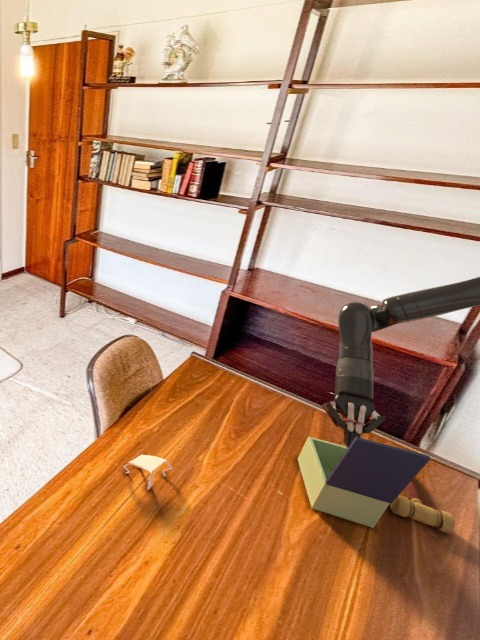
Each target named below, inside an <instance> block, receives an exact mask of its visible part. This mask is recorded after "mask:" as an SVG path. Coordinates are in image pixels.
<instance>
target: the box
mask: <svg viewBox="0 0 480 640" xmlns="http://www.w3.org/2000/svg"><path fill="white" fill-rule="evenodd" d="M347 449H348V448H347V447H346V445H341V444H338V443H335V442H331V441H327V440H323V439H319V438H316V437H312V436H307V438H306V440H305V442H304V444H303V446H302V449H301V451H300V453H299V455H298V457H297V463H298V466H299V469H300V473H301V476H302V479H303V480H302V481H303V483H304V486H305V490H306V495H307V497H308V500H309V503H310V508H311V509H312V510H315V511H319V512H322V513H325V514H328V515H332V516H335V517H338V518H340V519H344V520H347V521H351V522H353V523H356V524H360V525H363V526H365V527H369V528H372V529H373V528H375V526H376V525H377V523H378V522H379V520H380V519H381V518H382V516H383V514H384V513H385V511H386V510H387V509H388V507H389V506H390V505H391V504H390V503H387V502H383V501H380V500H377V499H373V498H370V497H367V496H363V495H360V494H357V493H353V492H350V491H347V490H343V489H340V488H336V487H333V486H330V485H326V483H325V481H326V480H327V478H328V477H329V475H330V474H331V472H332V471H333V469H334V468H335V466H336V465H337V463H338V462H339V461H340V459H341V458H342V456H343V455H344V453H345V452H346V450H347Z"/></svg>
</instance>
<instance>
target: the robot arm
mask: <svg viewBox="0 0 480 640" xmlns="http://www.w3.org/2000/svg"><path fill="white" fill-rule="evenodd" d="M474 307H480V276H477V277H474V278H470V279H466V280H463V281H459V282H453V283H449V284H444V285H439V286H435V287H430V288H424V289H419V290H415V291H411V292H406V293H401V294H397V295H393V296H392V295H391V296H390V297H389V296H388V297H386V298H384V299H383V300H381V302H380V303H378V304H375V305H371V306H368V305H367V304H365V303H363V302H359V301H350V302H347V303H345V304H344V305H342V306H341V308H340V309H339V311H338V317H337V319H338V320H337V321H338V322H337V323H338V336H339V337H338V338H339V340H338V349H337V362H336V365H335V381H334V396H333V397H332V401H329V402H326V403H322V404H321V406H322V408H323V410H324V411H325V413H326V414H327V416H328V418H330V420H331V422H332V423H333V425H334V426H335V427H336V428H339V429H342V430H343V444H344V446H346V447H347V448H348V447H349V446H350V444H351V443H352V441H353V440H354V439H355V437H359V438H362V437H361V436H362V435H363V434H371V433H372V432H373V431H374V430H375V429H377V428H378V427H379V426H380V425H381V424H382V423H384V422H385V421H386V417H385V416H384V415H380V414H379V413H378V412H377V411H376V407H375V405H374V403H373V401H374V381H375V376H374V375H375V372H374V366H373V365H374V363H373V361H374V347H373V343H372V333H375V332H378V331H381V330H384V329H387V328H390V327H392V326H393V327H394V326H395V325H398V324H405V323H409V322H416V321H420V320H425V319H429V318H434V317H438V316H443V315H446V314H450V313H453V312H457V311H463V310H465V309H470V308H474ZM338 412H339V413H338ZM368 417H369V420H368V422H366V423H365V420H366V419H367V418H368Z"/></svg>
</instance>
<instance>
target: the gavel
mask: <svg viewBox="0 0 480 640" xmlns="http://www.w3.org/2000/svg"><path fill="white" fill-rule="evenodd" d="M403 491H404V493H405V495H406V496H403V495H401V494H399V495H398V497H397V498H396V499H395V500H394V501H393V502H392V503H391V504H390V509H391V512H392V513H393V514H395V515H396V516H399V517H402V518H406V517H408V518H409V519H411V520H415V521H417V522H419V523H423V524H425V525H428V526H430V527H433V528H434V529H435V530H437V531H440V532H442V533H445V534H451V533H452V532H453V531H454V529H455V526H456V525H455V524H456V522H455V517H454V516H453V514H452V513H451V512H448V511H445V510H443V509H440V508H438V509H435V508H433V507H430V506H428V505H425V504H424V503H423V500H422V497H421V495H420V493H419V490H418V489H417V486H416V484H415V482H414V479H413V480H412V481H411V482H410V483H409V484H408V485H407V486H406V488H405V489H404V490H403Z"/></svg>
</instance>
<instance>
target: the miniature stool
mask: <svg viewBox="0 0 480 640" xmlns="http://www.w3.org/2000/svg"><path fill="white" fill-rule="evenodd" d="M164 464H166V466H168V468H165V469H163V470H161V473H162V475H163V477H167V475H166V473H165V472H166V471H169V470H173V469H174V467H173V466H172V464H171V463H170V462H169V461H168V460H167V459H165V458H162V457H159V456H155V455H149V454H140V455H138V456H137V457H136V458H134V459H132V460H130V461H128V462H127V463H125V464H123V465H122V467H123V469H125V471H126V472H125V474H130V473H131V471H130V470H129V469H128V468H127V467H128V466H131V465H132V466H134V467H137V468H138V469H141V470H143V471H145V472H148V473H149V481H148V482H147V490H148V491H149V490H150V489H151V487H153V485H154V472H155V471H156V470H158V469H159V468H160V467H161V466H162V465H164Z"/></svg>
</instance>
